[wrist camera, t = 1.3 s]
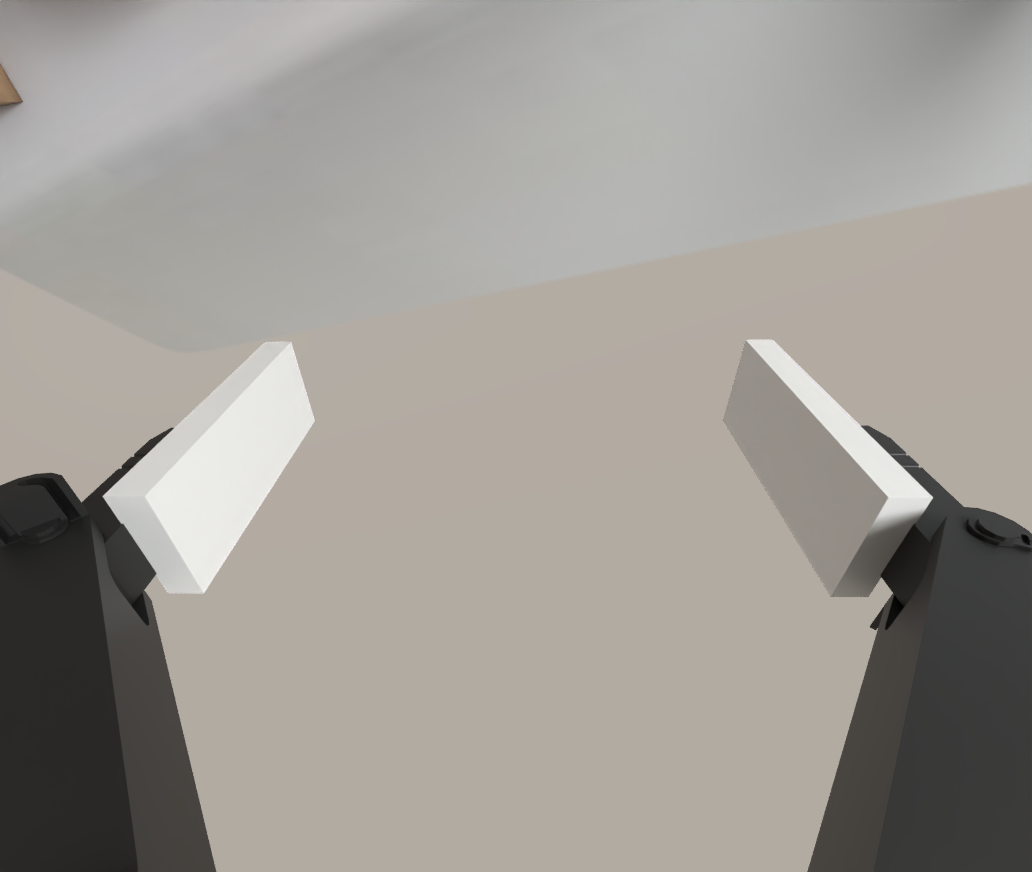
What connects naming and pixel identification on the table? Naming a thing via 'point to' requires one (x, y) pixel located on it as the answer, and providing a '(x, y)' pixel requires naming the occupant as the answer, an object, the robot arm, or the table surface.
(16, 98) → the plinth
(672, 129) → the table surface
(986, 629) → the robot arm
